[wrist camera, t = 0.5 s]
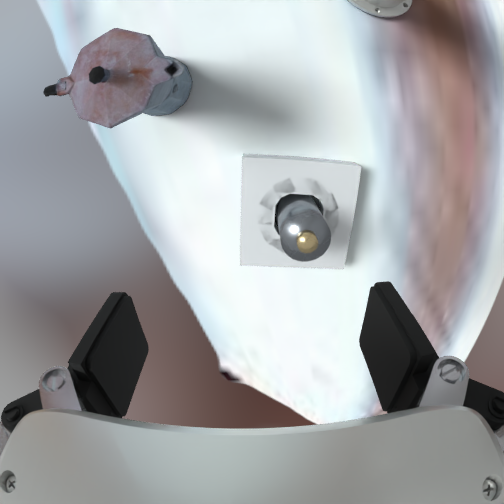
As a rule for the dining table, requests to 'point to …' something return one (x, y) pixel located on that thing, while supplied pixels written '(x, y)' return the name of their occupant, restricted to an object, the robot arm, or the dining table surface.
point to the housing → (295, 182)
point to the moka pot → (124, 79)
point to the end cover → (302, 227)
